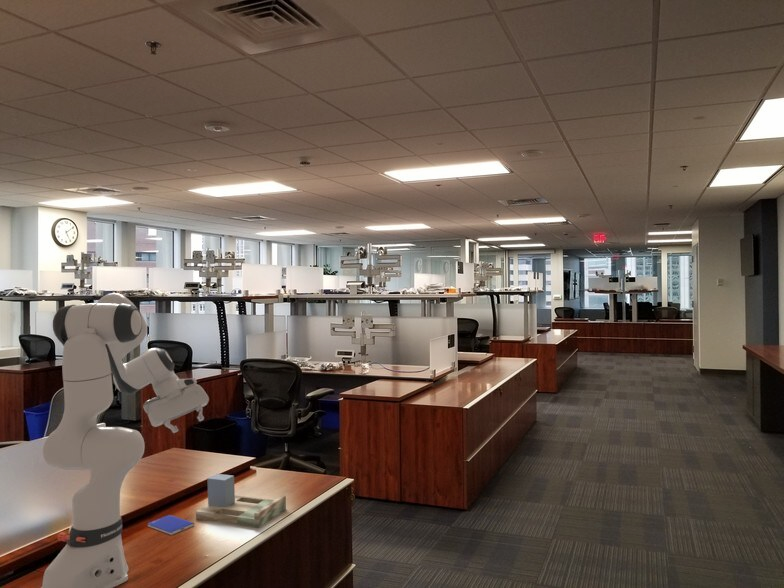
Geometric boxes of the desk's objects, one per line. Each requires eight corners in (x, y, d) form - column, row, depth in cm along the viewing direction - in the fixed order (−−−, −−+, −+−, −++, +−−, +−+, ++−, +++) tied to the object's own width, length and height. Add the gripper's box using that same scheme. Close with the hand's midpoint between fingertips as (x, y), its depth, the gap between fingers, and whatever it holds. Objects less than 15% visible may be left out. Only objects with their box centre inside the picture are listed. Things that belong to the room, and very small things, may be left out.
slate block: (225, 507, 190) (224, 480, 190) (208, 505, 192) (207, 478, 192) (234, 502, 195) (234, 475, 195) (217, 500, 197) (217, 473, 197)
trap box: (258, 527, 179) (258, 513, 179) (196, 518, 188) (195, 505, 188) (286, 509, 194) (285, 495, 194) (226, 501, 202) (226, 488, 202)
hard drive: (147, 523, 183) (171, 531, 176) (170, 514, 189) (194, 522, 182) (147, 527, 183) (171, 536, 176) (170, 519, 189) (194, 527, 182)
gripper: (142, 399, 188) (161, 435, 185) (199, 376, 202) (218, 410, 199) (138, 407, 192) (157, 442, 189) (194, 384, 206) (213, 417, 203)
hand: (189, 425), depth 194 cm, fingers open, 8 cm apart
